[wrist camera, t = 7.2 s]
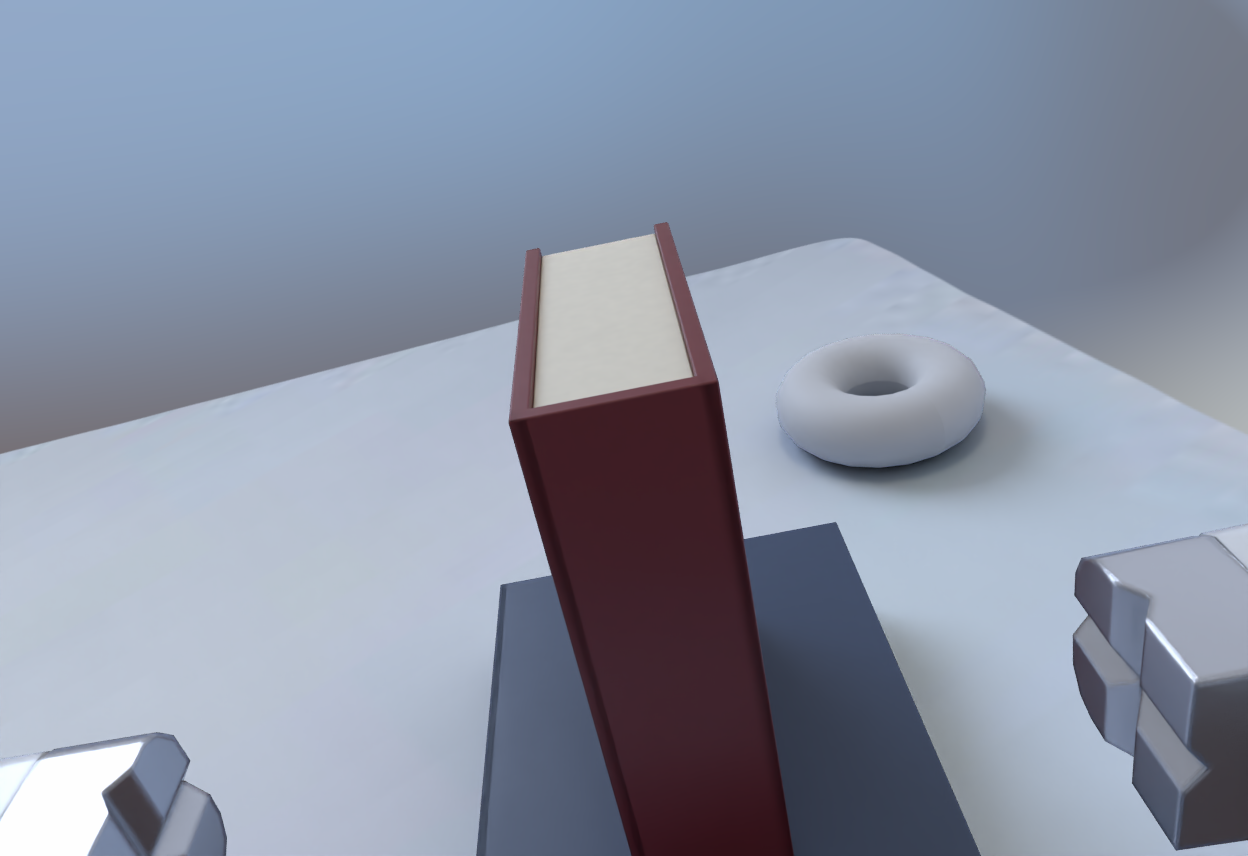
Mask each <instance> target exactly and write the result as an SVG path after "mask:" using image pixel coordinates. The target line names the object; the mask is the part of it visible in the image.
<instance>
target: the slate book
mask: <svg viewBox="0 0 1248 856" xmlns="http://www.w3.org/2000/svg"><path fill="white" fill-rule="evenodd" d="M744 544H745V551H746V557H747V563H748V569H749V576H750V582H751V588H752V595H753V601H754V607H755V613H756V620H757V626H758V632H759V638H760V645H761V651H762V657H763V664H764V670H765V676H766V682H767V689H768V695H769V701H770V708H771V714H772V720H773V726H774V733H775V739H776V745H777V751H778V758H779V764H780V770H781V777H782V783H783V789H784V795H785V802H786V808H787V814H788V820H789V827H790V833H791V839H792V846H793V852H794V856H981V855H980V853H979V850H978V848H977V846H976V843H975V841H974V839H973V837H972V834H971V832H970V830H969V827H968V825H967V823H966V820H965V818H964V816H963V813H962V811H961V809H960V807H959V804H958V802H957V800H956V797H955V795H954V793H953V790H952V788H951V786H950V784H949V781H948V779H947V777H946V774H945V772H944V770H943V767H942V765H941V763H940V760H939V758H938V756H937V754H936V751H935V749H934V747H933V744H932V742H931V740H930V737H929V735H928V733H927V731H926V728H925V726H924V724H923V721H922V719H921V717H920V714H919V712H918V710H917V707H916V705H915V703H914V701H913V698H912V696H911V694H910V691H909V689H908V687H907V684H906V682H905V680H904V678H903V675H902V673H901V671H900V668H899V666H898V664H897V661H896V659H895V657H894V654H893V652H892V650H891V648H890V645H889V643H888V641H887V638H886V636H885V634H884V631H883V629H882V627H881V625H880V622H879V620H878V618H877V615H876V613H875V611H874V608H873V606H872V604H871V601H870V599H869V597H868V595H867V592H866V590H865V588H864V585H863V583H862V581H861V578H860V576H859V574H858V572H857V569H856V567H855V565H854V562H853V560H852V558H851V555H850V553H849V551H848V549H847V546H846V544H845V542H844V539H843V537H842V535H841V532H840V530H839V528H838V525H837V523H836V522H834V523H828V524H823V525H818V526H812V527H807V528H802V529H796V530H791V531H786V532H780V533H775V534H770V535H764V536H759V537H754V538H748V539H744ZM476 856H631V852H630V849H629V845H628V842H627V838H626V835H625V831H624V828H623V824H622V821H621V817H620V814H619V810H618V807H617V803H616V800H615V796H614V793H613V789H612V786H611V782H610V778H609V775H608V771H607V768H606V764H605V761H604V757H603V754H602V750H601V747H600V743H599V740H598V736H597V733H596V729H595V726H594V722H593V719H592V715H591V711H590V708H589V704H588V701H587V697H586V694H585V690H584V687H583V683H582V680H581V676H580V673H579V669H578V666H577V662H576V659H575V655H574V652H573V648H572V644H571V641H570V637H569V634H568V630H567V627H566V623H565V620H564V616H563V613H562V609H561V606H560V602H559V599H558V595H557V592H556V588H555V585H554V581H553V577H552V575H551V576H546V577H541V578H535V579H530V580H525V581H519V582H514V583H509V584H503V585H501V587H500V598H499V610H498V621H497V632H496V643H495V654H494V665H493V676H492V688H491V699H490V710H489V721H488V732H487V743H486V754H485V765H484V777H483V788H482V799H481V810H480V821H479V832H478V843H477V854H476Z"/></svg>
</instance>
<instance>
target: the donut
mask: <svg viewBox="0 0 1248 856" xmlns="http://www.w3.org/2000/svg"><path fill="white" fill-rule="evenodd" d="M985 394H986V388H985V383H984V380H983V378H982V377H981V375H980V373H979V371H978V369H977V368H976V366H975V364H974V363H973V361H972V360H971V359H970V358H969V357H967V356H966V355H964V354H963V353H961V352H960V351H958V350H957V349H955V348H954V347H952V346H951V345H949V344H947V343H944V342H941V341H938V340H935V339H932V338H929V337H923V336H915V335H908V334H871V335H864V336H857V337H851V338H848V339H844V340H841V341H837V342H834V343H830V344H827V345H824V346H822V347H820V348H818V349H816V350H814V351H812V352H810V353H808V354H806V355H805V356H804V357H803V358H801V359H800V360H799V361H798V362H797V363H796V364H794V365H793V366H792V367H791V368H790V369H789V370H788V371H787V372H786V374H785V376H784V378H783V380H782V382H781V384H780V386H779V389H778V391H777V393H776V407H777V414H778V419H779V422H780V426H781V427H782V429H783V430H784V431H785V432H786V434H787V435H788V436H789V437H790V438H791V439H792V440H793V441H794V443H795V444H796V445H797V446H798V447H800V448H801V449H803V450H805V451H807V452H809V453H811V454H813V455H815V456H817V457H819V458H821V459H823V460H825V461H829V462H833V463H838V464H842V465H846V466H852V467H874V468H882V467H890V466H898V465H906V464H911V463H915V462H918V461H921V460H924V459H928V458H931V457H934V456H937V455H939V454H940V453H942V452H944V451H946V450H947V449H949V448H951V447H952V446H954V445H956V444H958V443H959V442H961V441H962V440H964V438H965V437H966V436H967V435H968V434H969V433H970V431H971V430H972V429H973V428H974V427H975V426H976V424H977V423H978V421H979V420H980V418H981V417H982V412H983V406H984V400H985Z"/></svg>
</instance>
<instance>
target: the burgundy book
mask: <svg viewBox="0 0 1248 856" xmlns="http://www.w3.org/2000/svg"><path fill="white" fill-rule="evenodd" d="M654 230H655V234H650V235H645V236H640V237H635V238H630V239H625V240H621V241H616V242H611V243H606V244H601V245H596V246H592V247H586V248H581V249H576V250H571V251H566V252H561V253H556V254H552V255H547V256H543V257H542V255H541V252H540V249H539V248H537V249H532V250H527V251H526V258H525V268H524V277H523V287H522V297H521V307H520V316H519V326H518V336H517V346H516V355H515V365H514V375H513V385H512V394H511V404H510V414H509V426H510V429H511V433H512V436H513V440H514V443H515V447H516V451H517V454H518V458H519V461H520V465H521V468H522V472H523V475H524V479H525V482H526V486H527V489H528V493H529V496H530V500H531V503H532V507H533V510H534V514H535V518H536V521H537V525H538V528H539V532H540V535H541V539H542V542H543V546H544V549H545V553H546V556H547V560H548V563H549V567H550V570H551V574H552V577H553V581H554V585H555V588H556V592H557V595H558V599H559V602H560V606H561V609H562V613H563V616H564V620H565V623H566V627H567V630H568V634H569V637H570V641H571V644H572V648H573V652H574V655H575V659H576V662H577V666H578V669H579V673H580V676H581V680H582V683H583V687H584V690H585V694H586V697H587V701H588V704H589V708H590V711H591V715H592V719H593V722H594V726H595V729H596V733H597V736H598V740H599V743H600V747H601V750H602V754H603V757H604V761H605V764H606V768H607V771H608V775H609V778H610V782H611V786H612V789H613V793H614V796H615V800H616V803H617V807H618V810H619V814H620V817H621V821H622V824H623V828H624V831H625V835H626V838H627V842H628V845H629V849H630V852H631V856H794V852H793V846H792V839H791V833H790V827H789V820H788V814H787V808H786V802H785V795H784V789H783V783H782V777H781V770H780V764H779V758H778V751H777V745H776V739H775V733H774V726H773V720H772V714H771V708H770V701H769V695H768V689H767V682H766V676H765V670H764V664H763V657H762V651H761V645H760V638H759V632H758V626H757V620H756V613H755V607H754V601H753V595H752V588H751V582H750V576H749V569H748V563H747V557H746V551H745V544H744V538H743V532H742V526H741V519H740V513H739V507H738V500H737V494H736V488H735V482H734V475H733V469H732V463H731V457H730V450H729V444H728V438H727V431H726V425H725V419H724V413H723V406H722V400H721V394H720V388H719V382H718V378H717V375H716V372H715V369H714V366H713V363H712V360H711V356H710V353H709V350H708V347H707V344H706V341H705V338H704V334H703V331H702V328H701V325H700V322H699V319H698V316H697V312H696V309H695V306H694V303H693V300H692V297H691V294H690V290H689V287H688V284H687V281H686V278H685V275H684V272H683V268H682V265H681V263H680V259H679V256H678V253H677V250H676V246H675V243H674V240H673V237H672V234H671V231H670V228H669V224H668V223H667V222H666V223H660V224H656V225H654Z"/></svg>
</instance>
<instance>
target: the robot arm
mask: <svg viewBox="0 0 1248 856" xmlns="http://www.w3.org/2000/svg"><path fill="white" fill-rule="evenodd" d="M1074 595H1075V597H1076V598H1077V599H1078V601H1079V602H1080V604H1081V605H1082V606H1083V608H1084V609H1085V611H1086V612H1087V613H1088V616H1087V618H1086V619H1085V620H1084V621H1083V623H1082V624H1081V625H1080V626H1079V628H1078V629H1077V630H1076V631H1075V633H1074V634H1073V666H1074V670H1075V674H1076V678H1077V682H1078V686H1079V691H1080V695H1081V697H1082V699H1083V701H1084V704H1085V706H1086V708H1087V710H1088V713H1089V715H1090V717H1091V719H1092V721H1093V722H1094V724H1095V725H1096V727H1097V729H1098V730H1099V732H1100V733H1101V735H1102V737H1103V738H1104V740H1105V741H1106V742H1108V743H1110V744H1111V745H1113V746H1115V747H1117V748H1119V749H1121V750H1122V751H1124V752H1126V753H1128V754H1130V755H1132V756H1133V757H1134V763H1133V777H1132V784H1133V785H1134V787H1135V788H1136V790H1137V791H1138V793H1139V795H1140V796H1141V798H1142V799H1143V801H1144V802H1145V804H1146V805H1147V807H1148V808H1149V810H1150V811H1151V813H1152V814H1153V816H1154V818H1155V819H1156V821H1157V822H1158V824H1159V825H1160V827H1161V828H1162V830H1163V831H1164V833H1165V834H1166V836H1167V837H1168V839H1169V841H1170V842H1171V844H1172V845H1173V847H1174V848H1175V850H1183V849H1190V848H1197V847H1203V846H1210V845H1217V844H1224V843H1231V842H1238V841H1245V840H1248V524H1244V525H1239V526H1234V527H1229V528H1224V529H1220V530H1215V531H1210V532H1205V533H1201V534H1200V535H1199V536H1191V537H1186V538H1181V539H1176V540H1170V541H1165V542H1160V543H1155V544H1150V545H1145V546H1140V547H1135V548H1130V549H1124V550H1119V551H1114V552H1109V553H1104V554H1099V555H1094V556H1089V557H1084V558H1081V560H1080V563H1079V565H1078V568H1077V570H1076V574H1075V593H1074ZM189 763H190V759H189V758H188V756H187V755H186V753H185V752H184V750H183V749H182V747H181V746H180V744H179V743H178V741H177V740H176V738H175V737H174V735H170V734H164V733H158V732H156V733H150V734H143V735H137V736H131V737H125V738H119V739H113V740H107V741H101V742H95V743H89V744H82V745H76V746H70V747H64V748H58V749H54V750H52V751H48V752H41V753H34V754H28V755H22V756H16V757H10V758H4V759H0V856H226V844H227V836H226V832H225V828H224V824H223V821H222V817H221V813H220V811H219V809H218V808H217V806H216V804H215V802H214V801H213V799H212V797H211V795H210V794H208V793H207V792H205V791H203V790H201V789H199V788H197V787H195V786H194V785H192V784H190V783H188V782H186V781H184V778H185V775H186V772H187V769H188V766H189Z"/></svg>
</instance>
